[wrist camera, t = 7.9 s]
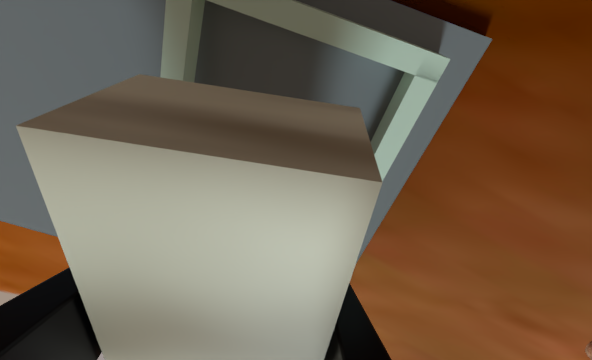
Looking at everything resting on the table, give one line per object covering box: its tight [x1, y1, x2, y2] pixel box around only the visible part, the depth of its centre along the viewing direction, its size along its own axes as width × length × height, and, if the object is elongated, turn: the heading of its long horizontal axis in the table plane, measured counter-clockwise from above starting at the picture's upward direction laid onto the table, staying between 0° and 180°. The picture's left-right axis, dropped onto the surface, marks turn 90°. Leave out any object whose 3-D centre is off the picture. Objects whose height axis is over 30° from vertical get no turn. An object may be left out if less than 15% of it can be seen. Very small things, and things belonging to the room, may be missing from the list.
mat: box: [0, 0, 492, 263], centre depth 14 cm, size 22×16×1 cm
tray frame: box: [160, 0, 450, 181], centre depth 13 cm, size 9×14×1 cm, turn 163°
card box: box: [16, 74, 383, 360], centre depth 9 cm, size 10×6×4 cm, turn 173°
